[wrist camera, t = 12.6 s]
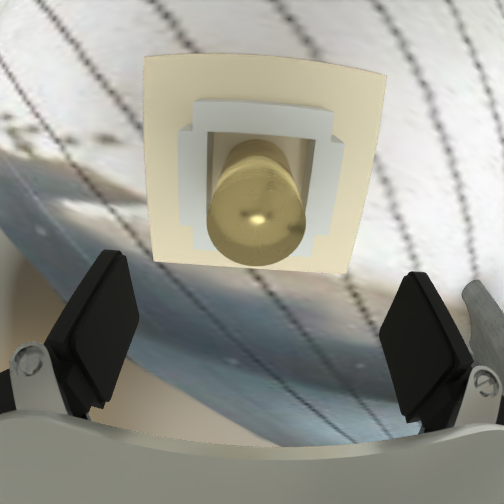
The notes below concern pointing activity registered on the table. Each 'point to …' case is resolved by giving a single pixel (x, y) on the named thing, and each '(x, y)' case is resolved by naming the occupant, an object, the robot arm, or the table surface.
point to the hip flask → (485, 328)
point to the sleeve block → (265, 128)
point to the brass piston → (256, 206)
